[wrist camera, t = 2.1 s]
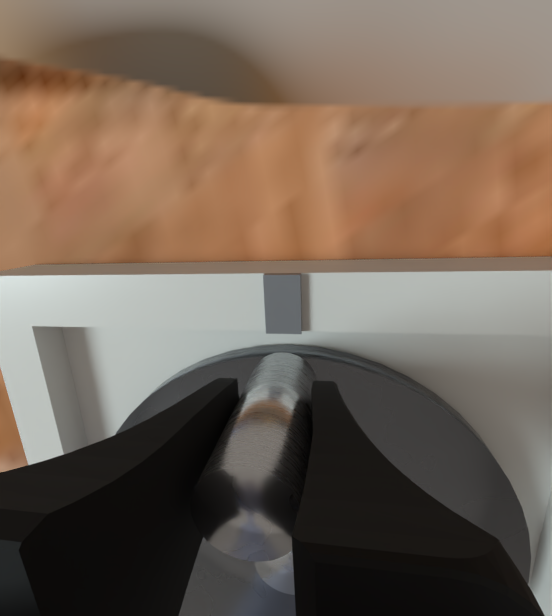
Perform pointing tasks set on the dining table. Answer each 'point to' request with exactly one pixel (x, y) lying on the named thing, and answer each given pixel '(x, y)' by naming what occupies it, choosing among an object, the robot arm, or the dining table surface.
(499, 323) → the dial base
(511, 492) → the dial
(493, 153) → the dining table surface
